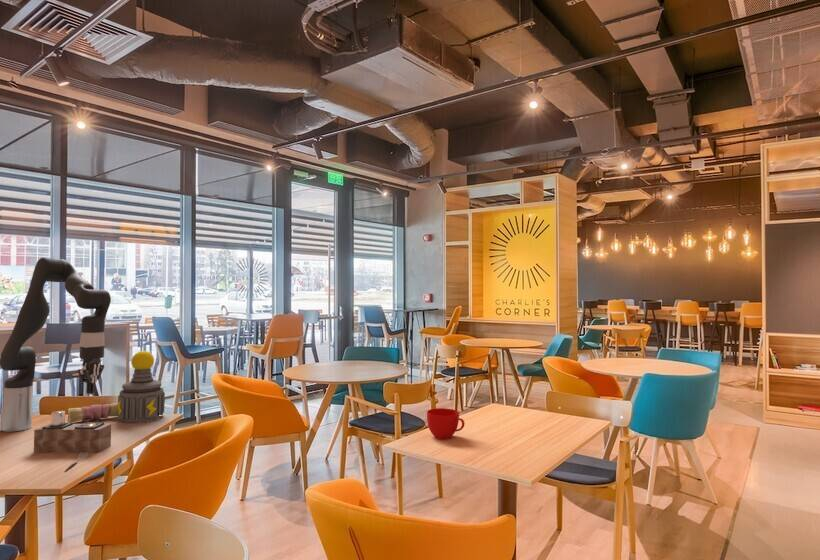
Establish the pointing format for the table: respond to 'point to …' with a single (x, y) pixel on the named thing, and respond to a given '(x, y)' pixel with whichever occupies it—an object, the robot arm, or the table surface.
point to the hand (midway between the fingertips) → (90, 393)
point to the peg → (58, 419)
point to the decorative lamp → (141, 393)
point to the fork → (76, 462)
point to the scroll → (92, 412)
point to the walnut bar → (72, 438)
